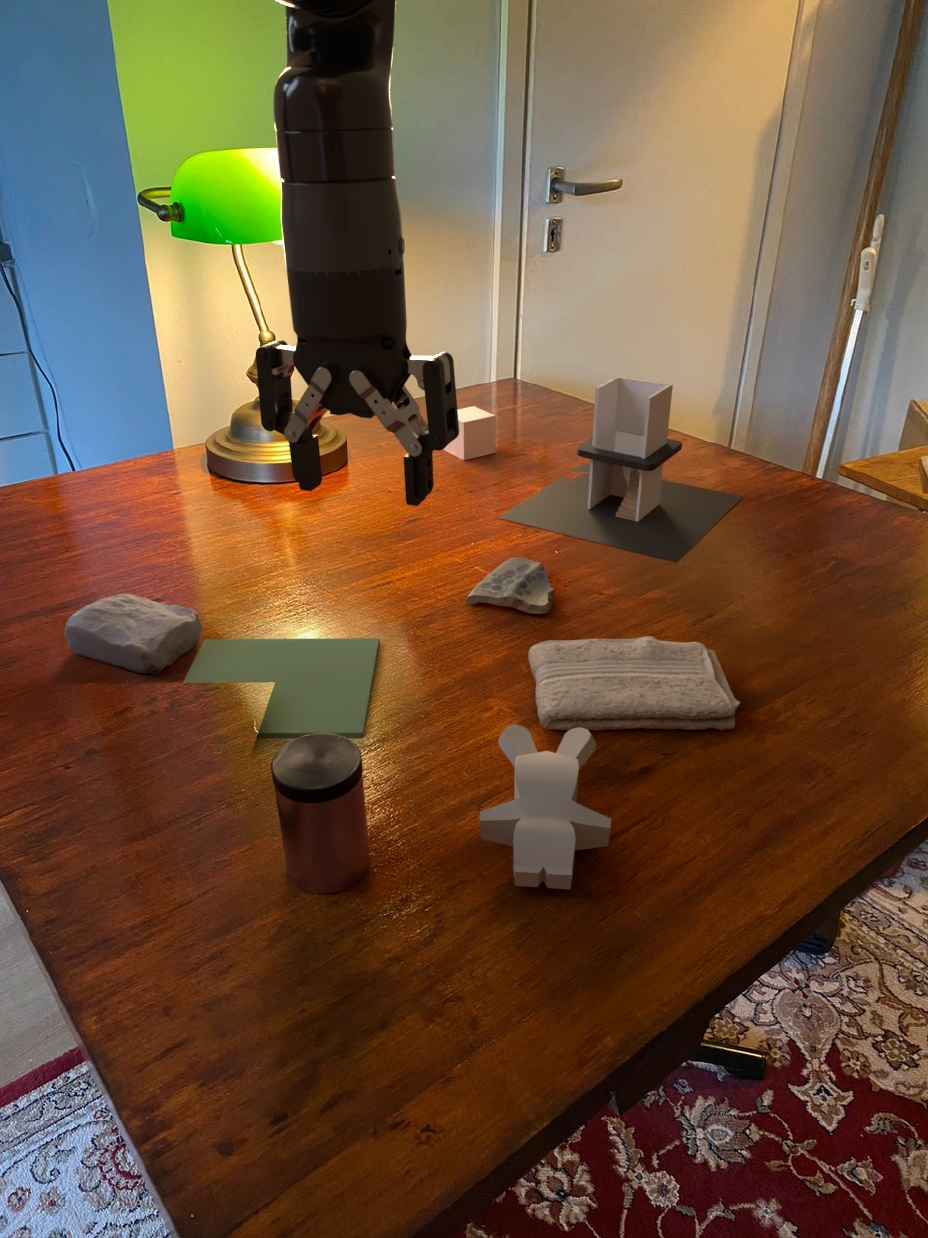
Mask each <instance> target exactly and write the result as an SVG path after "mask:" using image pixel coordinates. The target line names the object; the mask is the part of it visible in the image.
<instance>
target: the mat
mask: <svg viewBox="0 0 928 1238" xmlns="http://www.w3.org/2000/svg"><path fill="white" fill-rule="evenodd" d="M380 642H381V641H380V638H379V637H370V638H369V637H365V638H363V637H362V638H361V637H360V638H359V637H358V638H357V637H355V638H354V637H353V638H352V637H351V638H349V637H347V638H343V637H342V638H341V637H340V638H338V637H337V638H206V639H205V638H204V639H203V640H202V643H201V645H200V646H199V649H198V651H197V652H196V655H195V657H194V659H193V661H192V663H191V665H190V667H189V669H188V670H187V673H186V675H185V677H184V679H183V680H182V683H183V684H197V683H198V684H217V683H219V684H220V683H222V684H229V683H230V684H231V683H233V684H237V683H238V684H239V683H252V684H253V683H274V684H273V688H272V691H271V693H270V697H269V699H268V702H267V705H266V708H265V710H264V714H263V718H262V720H261V722H260V725H259V729H258V731H257V732H258V733H257V735H256V739H257V738H259V739H260V738H262V739H264V738H265V739H266V738H268V739H269V738H274V739H275V738H299V737H302V736H305V735H310V734H318V733H329V734H336V735H340V736H343V737H345V738H364V736H365V730H366V724H367V718H368V712H369V706H370V701H371V696H372V689H373V683H374V677H375V671H376V665H377V660H378V655H379V654H378V653H379V649H380Z"/></svg>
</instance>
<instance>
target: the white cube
mask: <svg viewBox="0 0 928 1238" xmlns="http://www.w3.org/2000/svg"><path fill="white" fill-rule="evenodd" d="M457 411H458V423H459V435H458V437H457V438H456V439H455V440H453V441H452V442H450V443H449V444H448V445H447V446H446V447H445V448H444V449H443V450H442V451H444V452H446V453H448V454H450V455H451V456H452V455H453V456H454V457H457V458H458V459H461V460H462V461H468V460H471V459H475V458H478V457H479V458H480V457H483V456H487V455H492V454H495V453H496V428H497V427H496V426H497V425H496V423H497V422H496V421H497V420H496V418H497V417H496V415H495V414H494V413H491V412H488V411H487V410H484V409H481V408H479V407H478V406H474V405H473V406H468V407H463V408H459V409H458V408H457Z"/></svg>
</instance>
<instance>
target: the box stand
mask: <svg viewBox="0 0 928 1238" xmlns="http://www.w3.org/2000/svg"><path fill="white" fill-rule="evenodd" d="M673 386H674V384H670V383H665V382H658V381H652V380H647V379H646V380H644V379H638V378H631V377H626V376H618V375H617V376H615V377H613V378H611V379H609V380H607V381H605V382H603V383H602V384H599V385H598V386H595V393H594V406H593V407H594V408H593V409H594V410H593V424H592V427H593V428H592V436H591V437H590V438H588V439H586V440H585V441H582V442H581V443H579V445H578V446H577V448H576V456H577V457H579V458H585V459H589V460H590V462H589V463H590V464H587V463H580V464H579V465H577V466H575V467H574V468H575V469H574V468H573V470H574V471H572V469H571V470H569V471H568V472H584V473H585V472H589V473H585V475H584V474H581V476H583V477H581V476H577V477H576V478H574V479H571V480H570V481H566V480H568V479H570V478H568V479H564V477H563V475H564V476H565V477H566V475H565V474H563V475H561V476H560V477H561V478H560V477H559V478H557V479H556V480H554V481H552V482H553V483H552V482H550V483H549V484H548V485H546V486H544V487H543V488H542V489H540V490H537V492H535V493H533V494H532V495H530V496H529V497H527V498H526V499H524V500H523V501H521V502H520V503H518V504H516V505H515V506H513V507H511V508H510V509H509V510H508V511H506V512H504V513H503V514H501V515H500V516H498V517H497V519H501V520H506V521H510V522H514V523H517V524H521V525H526V526H529V527H534V528H536V529H537V528H538V529H540V530H541V529H542V530H544V531H545V530H546V531H550V532H554V533H557V534H561V535H565V536H569V537H574V538H577V539H581V540H586V541H589V542H594V543H596V544H597V543H598V544H602V545H606V546H609V547H613V548H617V549H622V550H625V551H630V552H632V553H633V552H634V553H638V554H642V555H646V556H650V557H654V558H658V559H661V560H666V561H669V562H674V563H678V561H679V560H680V559H681V558H682V557H683V556H684V555H685V554H686V553H687V552H688V551H689V550H690V549H691V548H692V547H693V546H695V544H696V543H697V542H699V540H701V538H703V537H704V536H705V535H706V534H707V533H708V532H709V531H710V530H711V529H712V528H713V527H714V526H715V525H716V524H717V523H718V522H719V521H720V520H721V519H722V518H723V517H724V516H725V515H726V514H727V513H728V512H729V511H731V509H732V508H733V507H735V506H736V504H738V503H739V502H740V501H741V499H743V498H744V496H743V495H739V494H738V495H737V494H734V493H729V492H724V491H718V490H714V489H709V488H703V487H699V486H694V485H689V484H684V483H679V482H676V481H669V480H665V479H663V471H664V463H666V462H667V461H668V460H669V459H671V458H673V456H675V455H677V454H678V453H679V452H680V451H682V447H683V442H682V441H681V440H676V439H671V438H668V435H669V428H670V427H669V426H670V415H671V407H672V406H671V405H672V398H673V397H672V396H673V388H674V387H673ZM579 466H581V467H579ZM571 477H574V476H571ZM578 478H580V479H578ZM561 479H562V480H561ZM557 480H558V481H557ZM574 480H576V481H574ZM564 481H565V482H564ZM570 482H571V483H570ZM569 485H570V486H569Z"/></svg>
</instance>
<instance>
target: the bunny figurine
mask: <svg viewBox="0 0 928 1238" xmlns="http://www.w3.org/2000/svg"><path fill="white" fill-rule="evenodd" d="M497 742H498V747H499V748H500V750H501V751H502V752H503V753H504V755H505V756H506V758H507V759H508V760H509V762H510V763H511V764H512V765H513V767H514V782H513V783H514V784H513V785H514V787H513V789H514V790H513V795H514V796H513V798H514V799H512V800H510V801H506V802H504V803H500V804H497V805H494V806H492V807H488V808H485V809H483V810H480V811H479V839H481V840H485V841H489V842H493V843H497V844H501V845H504V846H508V847H513V848H512V849H513V850H512V872H513V873H512V874H513V878H514V887H529V888H538V887H539V886H540V885H541V883H542V882H543V883H544V885H545V886H546V888H547V889H559V890H572V881H573V876H574V866H575V852H576V851H581V850H589V849H595V848H601V847H602V848H604V847H609V846H610V836H611V827H612V817H611V818H610V817H609V816H606V815H604V814H602V813H600V812H597V811H595V810H593V809H590V808H589V807H586V806H584V805H582V804H580V803H577V798H578V797H577V796H578V783H579V770H580V769H581V768H582V767H583V766H584V764H585V763H586V762H587V761H588V760H589V758H590V757H591V756H592V755H593V754H594V753H595V752H596V749H597V743H596V741H595V739H594V737H593V735H592V733H591V732H590V730H588V729H585V728H581V727H579V728H574V729H571V730H569V731H566V732H565V733H564V735H563V737H562V739H561V741H560V744H559V745H558V748H557V750H556V752H554V751H548V750H544V751H538V749H537V747H536V745H535V741H534V739H533V737H532V734H531V732H530V731H529V729H527V727H525V726H522V725H520V724H516V723H514V724H508V725H507V726H506V727H505V728H504V729H503V731H502V733H501V734H500V736H499V737H498V740H497Z"/></svg>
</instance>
